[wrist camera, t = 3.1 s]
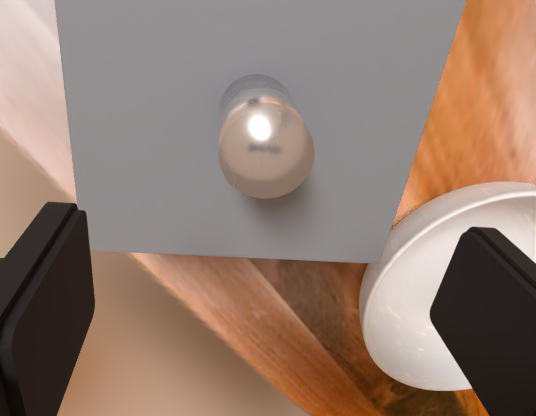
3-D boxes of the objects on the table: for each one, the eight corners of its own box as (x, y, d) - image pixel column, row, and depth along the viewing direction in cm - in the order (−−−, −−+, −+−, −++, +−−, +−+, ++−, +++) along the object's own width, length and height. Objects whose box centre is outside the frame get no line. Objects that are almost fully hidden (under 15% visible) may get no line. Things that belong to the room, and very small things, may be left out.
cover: (401, -60, 25) (594, -92, 12) (340, 191, 34) (415, 330, 21) (105, -111, 23) (-54, -222, 10) (119, 174, 31) (46, 322, 18)
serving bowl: (603, 213, 38) (674, 258, 32) (453, 355, 46) (487, 412, 40) (442, 110, 31) (493, 143, 26) (299, 298, 40) (313, 355, 34)
